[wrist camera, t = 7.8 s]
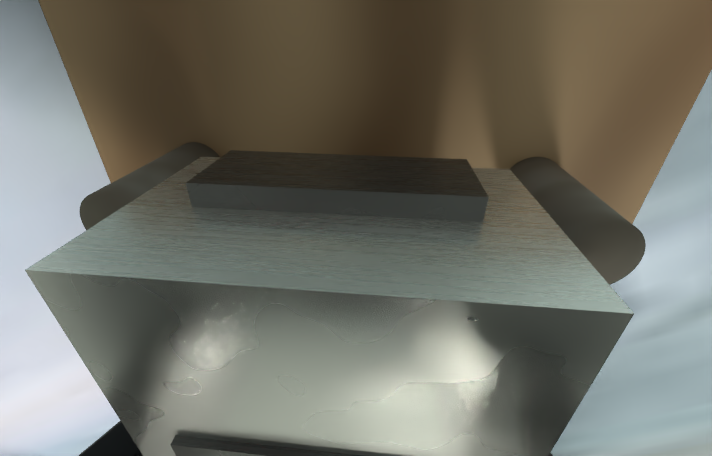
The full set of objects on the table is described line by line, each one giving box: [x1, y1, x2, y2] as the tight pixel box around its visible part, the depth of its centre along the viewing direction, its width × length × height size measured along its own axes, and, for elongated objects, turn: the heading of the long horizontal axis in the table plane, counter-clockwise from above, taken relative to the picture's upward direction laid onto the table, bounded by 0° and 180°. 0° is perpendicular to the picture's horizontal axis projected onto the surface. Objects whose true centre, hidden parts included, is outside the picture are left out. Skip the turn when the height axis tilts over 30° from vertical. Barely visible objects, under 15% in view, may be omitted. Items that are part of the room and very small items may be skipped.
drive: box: [25, 150, 634, 456], centre depth 8 cm, size 6×11×4 cm, turn 0°
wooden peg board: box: [38, 0, 712, 285], centre depth 11 cm, size 16×18×5 cm
